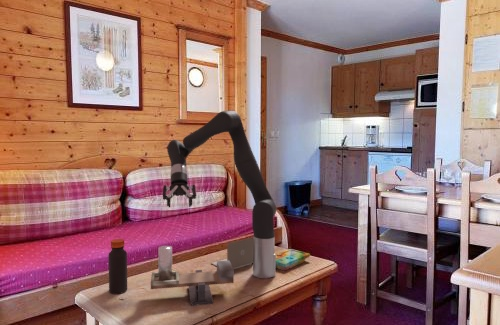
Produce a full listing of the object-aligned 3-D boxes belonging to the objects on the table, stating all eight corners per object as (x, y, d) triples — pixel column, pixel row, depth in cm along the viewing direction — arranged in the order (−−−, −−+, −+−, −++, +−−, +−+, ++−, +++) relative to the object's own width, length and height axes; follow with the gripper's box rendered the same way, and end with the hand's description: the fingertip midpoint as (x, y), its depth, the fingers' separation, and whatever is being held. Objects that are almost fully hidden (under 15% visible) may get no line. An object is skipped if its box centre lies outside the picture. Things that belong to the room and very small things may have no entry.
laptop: (239, 256, 190) (240, 231, 189) (256, 263, 180) (257, 236, 179) (210, 264, 178) (211, 237, 177) (227, 271, 168) (227, 243, 167)
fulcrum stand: (208, 286, 152) (208, 268, 151) (213, 303, 136) (213, 284, 136) (188, 287, 150) (188, 270, 150) (190, 305, 135) (190, 286, 134)
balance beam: (229, 273, 150) (229, 260, 150) (233, 282, 140) (233, 269, 140) (152, 278, 144) (151, 265, 143) (150, 289, 134) (150, 275, 134)
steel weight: (172, 276, 143) (172, 245, 142) (172, 281, 138) (172, 249, 138) (158, 277, 142) (158, 246, 141) (158, 282, 137) (158, 250, 136)
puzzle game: (265, 256, 176) (290, 247, 191) (265, 266, 176) (290, 256, 191) (285, 262, 168) (310, 252, 183) (285, 272, 169) (309, 261, 184)
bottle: (114, 296, 142) (114, 244, 140) (105, 291, 146) (104, 240, 145) (130, 290, 147) (130, 240, 145) (121, 285, 151) (120, 237, 150)
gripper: (162, 171, 165) (162, 201, 155) (195, 170, 168) (197, 200, 158) (163, 181, 171) (162, 211, 161) (194, 181, 174) (196, 210, 164)
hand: (179, 206), depth 160 cm, fingers open, 8 cm apart
